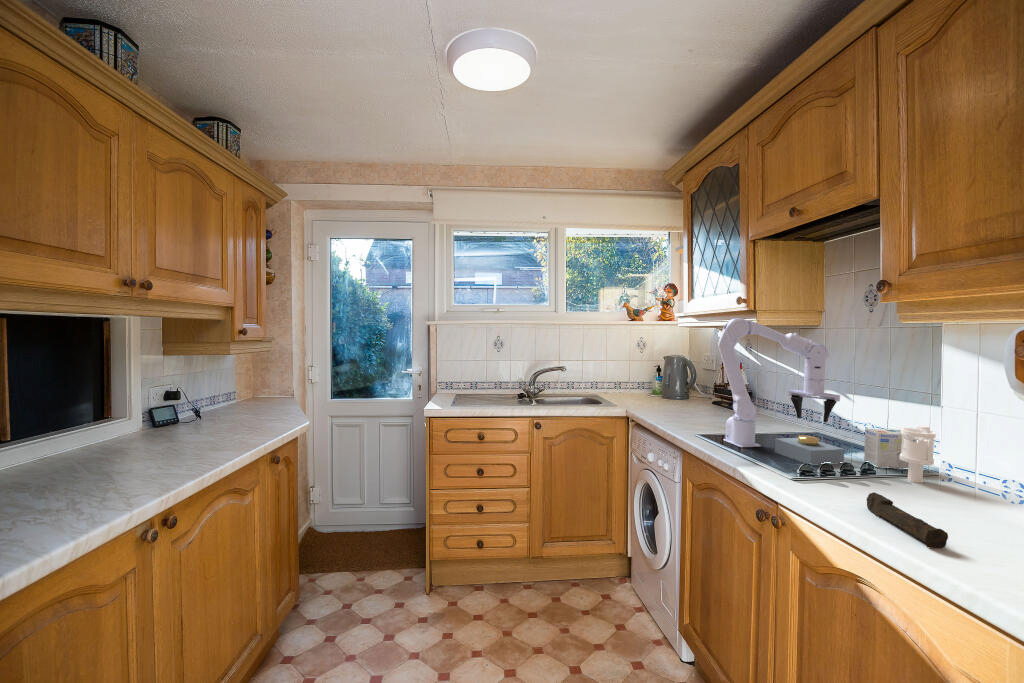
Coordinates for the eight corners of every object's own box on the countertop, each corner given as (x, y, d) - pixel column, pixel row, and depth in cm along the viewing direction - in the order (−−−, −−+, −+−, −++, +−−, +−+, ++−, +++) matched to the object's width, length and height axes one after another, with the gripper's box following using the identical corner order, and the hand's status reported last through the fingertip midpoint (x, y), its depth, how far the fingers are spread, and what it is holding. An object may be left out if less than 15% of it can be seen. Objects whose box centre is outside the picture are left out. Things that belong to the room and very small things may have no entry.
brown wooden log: (949, 550, 87) (950, 526, 87) (926, 549, 88) (927, 525, 87) (880, 510, 106) (881, 490, 106) (861, 509, 106) (862, 489, 106)
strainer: (939, 484, 123) (942, 429, 122) (920, 486, 121) (923, 430, 120) (909, 475, 130) (913, 423, 129) (891, 477, 128) (894, 424, 127)
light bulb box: (899, 463, 141) (901, 428, 141) (916, 470, 135) (918, 434, 134) (862, 461, 142) (864, 427, 142) (877, 468, 136) (879, 432, 135)
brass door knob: (792, 454, 148) (793, 435, 147) (807, 453, 149) (808, 434, 149) (807, 459, 142) (808, 440, 142) (822, 458, 143) (823, 439, 143)
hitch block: (774, 452, 151) (775, 438, 151) (805, 450, 154) (806, 437, 153) (810, 465, 138) (811, 450, 137) (843, 463, 140) (844, 449, 140)
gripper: (785, 377, 155) (784, 417, 156) (837, 382, 145) (834, 425, 145) (792, 376, 160) (790, 414, 161) (842, 381, 150) (840, 422, 150)
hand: (812, 419), depth 154 cm, fingers open, 7 cm apart
